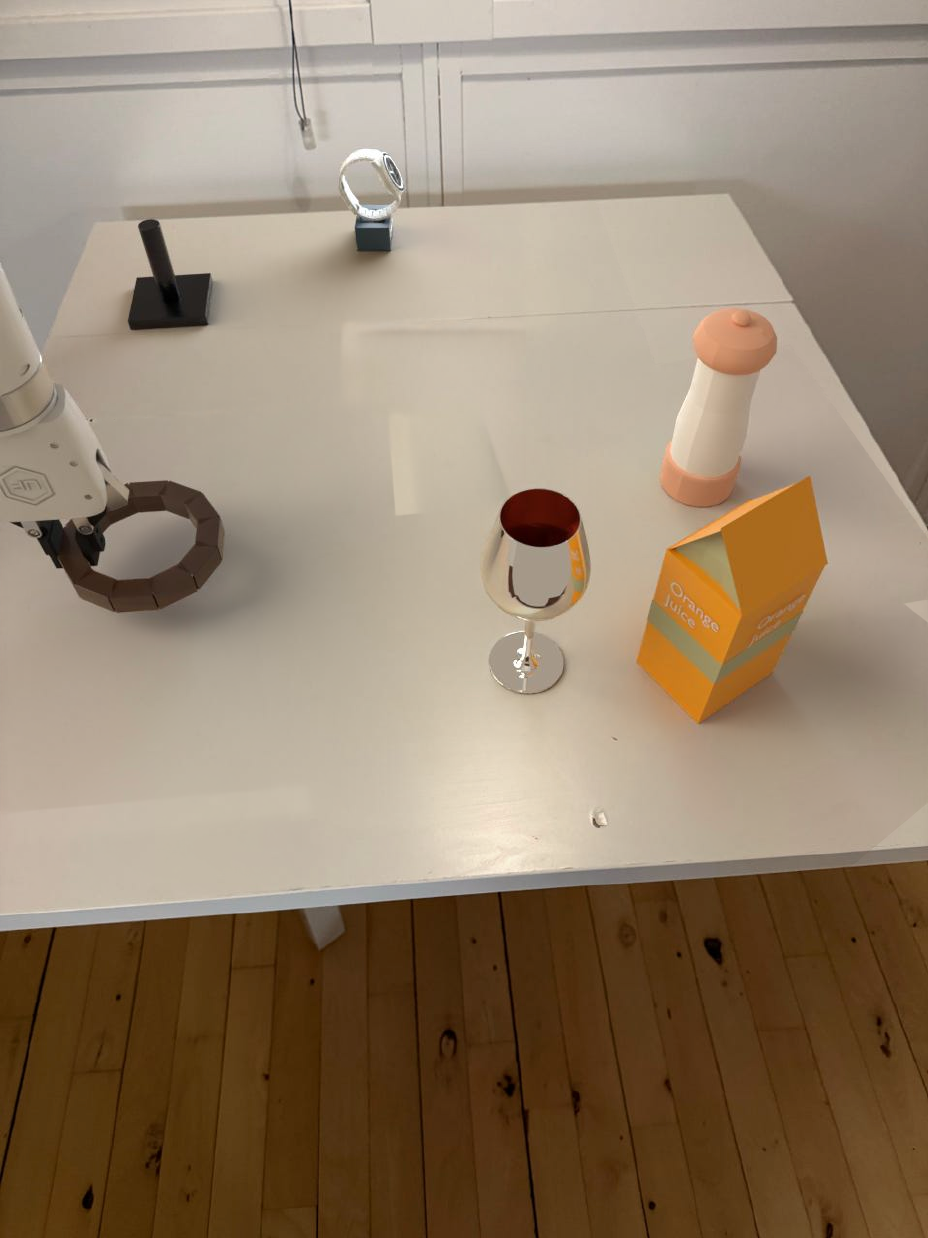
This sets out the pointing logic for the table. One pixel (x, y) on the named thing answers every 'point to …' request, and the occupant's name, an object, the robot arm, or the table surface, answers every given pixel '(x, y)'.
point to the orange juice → (733, 599)
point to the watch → (373, 219)
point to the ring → (164, 584)
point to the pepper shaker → (717, 407)
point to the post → (167, 289)
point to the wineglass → (534, 582)
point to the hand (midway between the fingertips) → (79, 554)
